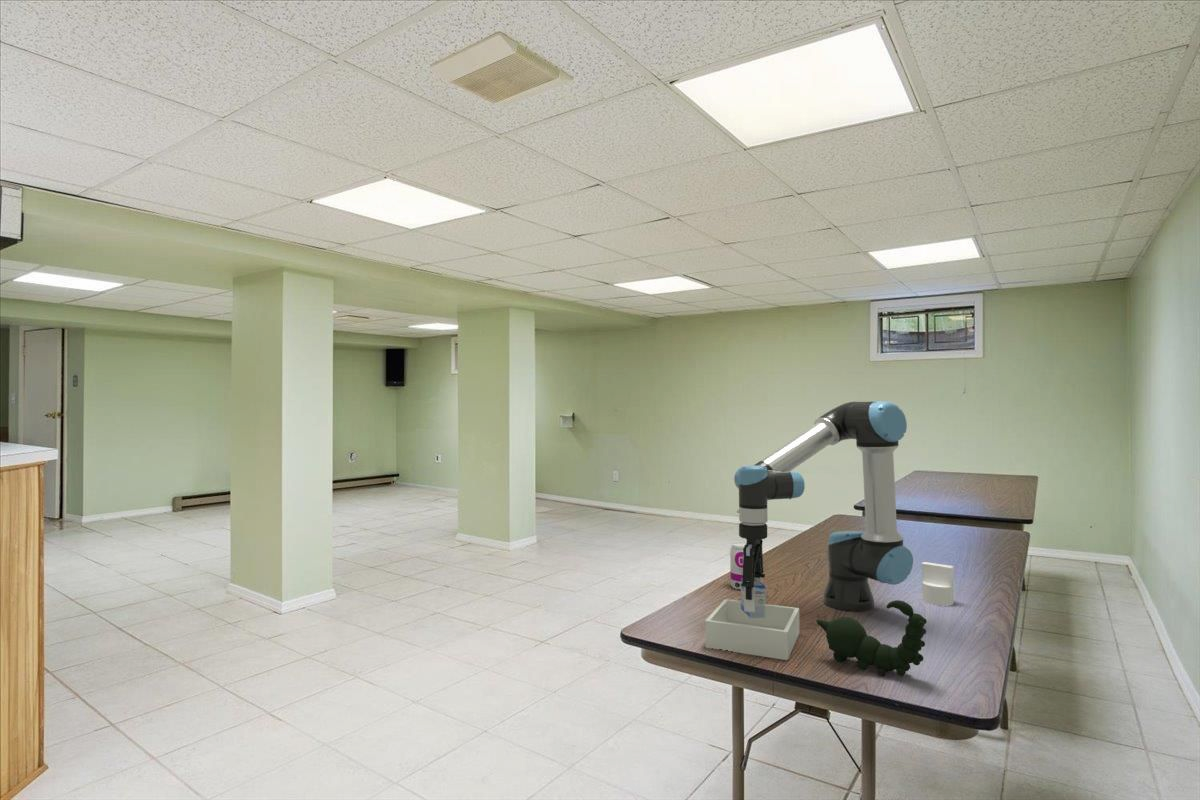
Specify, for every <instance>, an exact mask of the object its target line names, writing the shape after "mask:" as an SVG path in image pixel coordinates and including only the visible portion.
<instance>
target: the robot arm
mask: <svg viewBox="0 0 1200 800" xmlns="http://www.w3.org/2000/svg"><path fill="white" fill-rule="evenodd" d="M907 423H908V422H907V418H906V416H905V413H904V411H903V410H902V409H901V408H900V407H899V406H898V405H897V404H896V403H894V402H890V401H884V400H882V401H881V400H877V401H876V400H875V401H848V402H845V403H842V404H840V405H837V406H836V407H834V408H832V409H830V410H829V411H827V412H825V413H824V414H822V415H820V416H819V417H818V418H816V419H815V420H814V422H813V425H812V426H810V427H809V428H807V429H805V430H804V431H803V432H801V433H800V434H798V435H796V436H795V437H794V438H792V439H791V440H790V441H788V442H786V443H785V444H783V445H782V446H781V447H779V448H778V449H776V450H774V451H773V452H772V453H769V455H767V456H765V457H764V458H763V459H761V460H759V461H758V462H756V463H755V464H754V465H753V464H752V465H749V464H748V465H742V466H741V467H739V468H737V470H736V471H735V474H734V478H733V480H734V484H735V486H736V488H737V489H738V509H737V510H736V513H737V514H739V515H738V520H739V522H740V523H738V536H739V537H740V538H742V539H745V540H746V542H745V543H746V545H745V546H744V548H743V579H742V584H741V586H742V587H744V611H748V612H755V587H754V578H756V579H757V580H759V581H760V582H761V583H762V584H763V578H765V577H766V574H765V573H764V572H765V571H764V559H763V558H764V556H763V555H764V553H763V542H764V541H763V540H766V539H767V538H768V525H767V524H766V523H767V522H768V518H769V517H768V501H771V500H792V499H796V498H799V497H801V496H802V495H803V494H804V492H805V487H806V485H805V484H806V483H805V479H804V477H803V475H802V474H801V473H799V471H798V472H797V471H793V470H794V469H795V468H797V467H799V466H800V465H801V464H803V463H804V462H805V461H807V460H808V459H810V458H812V457H813V456H815V455H816V454H817V453H819V452H821V451H822V450H823V449H825V448H826V447H828V446H835V445H836V444H838V443H839V442H842V441H847V440H855V443H856V445H855V446H856V448H857V449H859V451H861V453H862V454H861V455H862V473H863V474H862V475H863V477H862V478H863V493H864V495H863V497H864V513H865V514H864V515H865V518H864V519H865V531H863V530H862V531H861V530H845V531H835V532H834V531H833V532H832V533H830V535H828V536H829V537H828V544H827V548H828V580H827V583H826V586H825V589H824V592H823V603H824V604H825V605H826V606H828V607H831V608H834V609H837V610H844V611H851V612H852V611H854V612H861V611H862V612H863V611H870V610H872V609H874V607H875V598H874V595H873V591H872V590H871V586H870V583H869V579H870V580H874V581H876V582H879V583H882V584H887V585H892V586H893V585H899V584H901V583H903V582H904V581H906V579H907V578H908V577H909V576H910V574H911V572H912V570H913V565H914V556H913V553H912V551H910V549H909V548H908V547H906V546H904V537H903V536H902V534H900V533H899V532H898V526H897V525H898V523H897V505H896V484H895V483H896V482H895V479H896V478H895V464H894V462H895V461H894V460H895V459H894V452H895V450H896V449H897V448H898V447H899V441H901V440H902V439H903V438H904V436H905V434H906V433H907V432H906V431H907V427H908V425H907ZM747 581H749V582H747Z"/></svg>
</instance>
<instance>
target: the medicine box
mask: <svg viewBox="0 0 1200 800" xmlns="http://www.w3.org/2000/svg"><path fill="white" fill-rule="evenodd" d="M742 579H743V578H742ZM742 579H741V584H742ZM747 582H749V581H747ZM754 587H755V612H748V611H744V587H742V586H741V590H740V597H741V598H740V601H741V609H742V610H743V611H744V612H745V613H746V614H747V615H748V616H749V617H750V618H765V610H766V609H765V604H766V596H767V595H766V589H767V588H766V585H765V584H763V582H762V583H761V582H760V581H759V580H757V579H756V578H754Z"/></svg>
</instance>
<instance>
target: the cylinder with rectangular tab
mask: <svg viewBox="0 0 1200 800" xmlns="http://www.w3.org/2000/svg"><path fill="white" fill-rule="evenodd" d="M954 585H955V584H954V566H953V565H949V564H942V563H934V562H929V561H924V562H921V596H922V597H921V600H923V601H924V602H926V603H925V604H927V603H929V604H928V605H930V604H933V605H932V606H935V605H940V606H939V607H947V606H946V605H952V604H953V603H955V602H954V601H955V600H954V598H955V597H954V596H955V594H954V593H955V591H954V589H955V587H954ZM923 601H922V602H923ZM924 602H923V603H924ZM943 605H944V606H943ZM952 606H953V605H952Z"/></svg>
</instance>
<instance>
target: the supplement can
mask: <svg viewBox="0 0 1200 800" xmlns="http://www.w3.org/2000/svg"><path fill="white" fill-rule="evenodd" d="M745 545H746V542H734V543H732V544H731V547H730V549H729V550H730V559H729V561H730V562H729V563H730V566H729V567H730V568H729V569H730V571H729V572H730V573H729V574H730V586H731V587H732V589H734V588H735V589H734V590H737V589H740V590H739V591H741V579H742V578H743V548H744V546H745Z"/></svg>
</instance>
